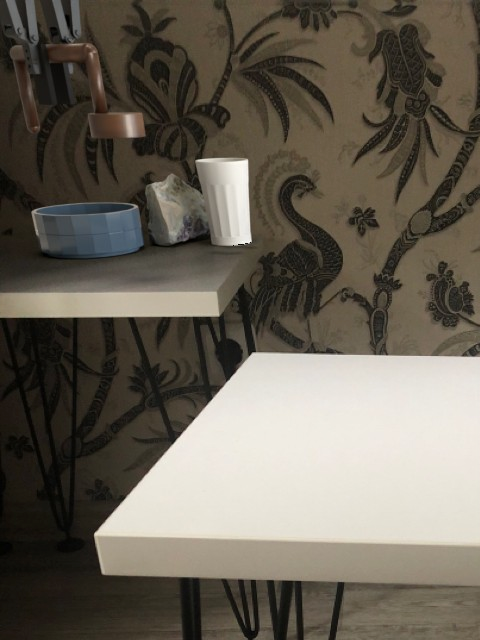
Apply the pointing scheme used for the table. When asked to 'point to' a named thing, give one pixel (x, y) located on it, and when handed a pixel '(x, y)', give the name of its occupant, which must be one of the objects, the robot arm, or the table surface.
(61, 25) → the robot arm
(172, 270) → the table surface
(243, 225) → the cup
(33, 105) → the bent rod with disc
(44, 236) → the bowl
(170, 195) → the mineral rock
